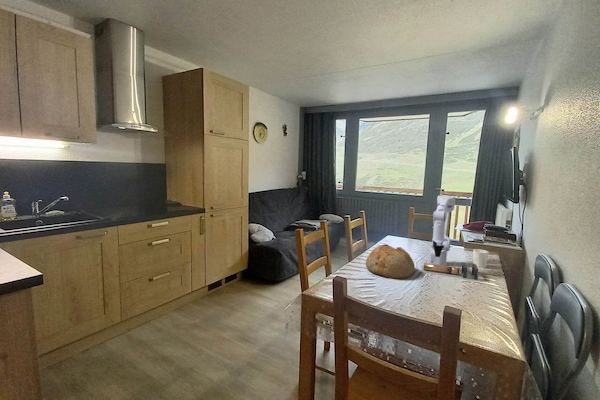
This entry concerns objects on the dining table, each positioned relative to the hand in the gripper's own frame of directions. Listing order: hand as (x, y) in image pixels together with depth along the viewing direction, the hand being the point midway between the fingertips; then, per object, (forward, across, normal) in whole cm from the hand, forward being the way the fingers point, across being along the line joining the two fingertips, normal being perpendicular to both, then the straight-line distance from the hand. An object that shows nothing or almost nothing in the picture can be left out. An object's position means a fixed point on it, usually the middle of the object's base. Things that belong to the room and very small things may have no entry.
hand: (437, 254), depth 159 cm
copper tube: (+9, -1, -2) cm, 10 cm away
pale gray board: (+10, -1, -7) cm, 12 cm away
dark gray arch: (+9, -1, -14) cm, 17 cm away
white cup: (+10, +20, -25) cm, 33 cm away
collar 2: (+9, -2, -19) cm, 21 cm away
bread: (+11, -11, +25) cm, 29 cm away
